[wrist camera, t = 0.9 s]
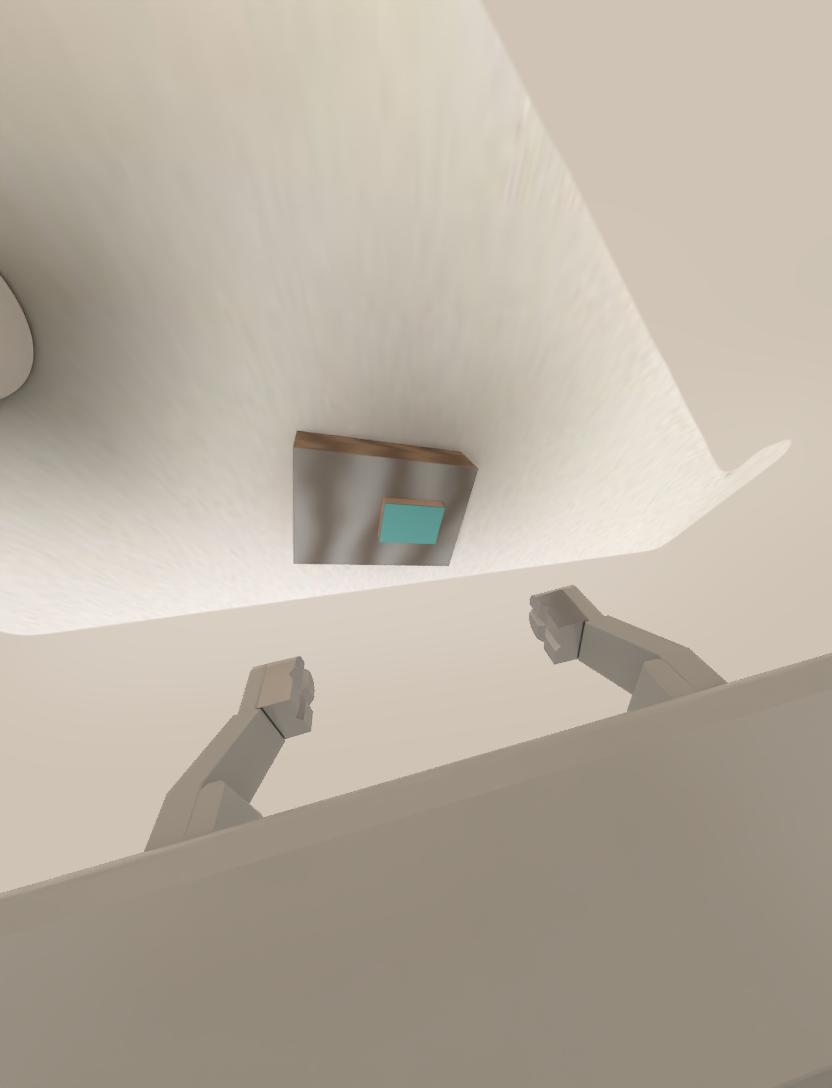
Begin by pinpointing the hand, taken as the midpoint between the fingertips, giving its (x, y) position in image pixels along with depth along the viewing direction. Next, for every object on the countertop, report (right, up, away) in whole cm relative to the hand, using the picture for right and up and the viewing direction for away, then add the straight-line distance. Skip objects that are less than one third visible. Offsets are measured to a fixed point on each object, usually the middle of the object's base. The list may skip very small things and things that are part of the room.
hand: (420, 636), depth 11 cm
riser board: (-5, +10, +32) cm, 34 cm away
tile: (-1, +6, +28) cm, 28 cm away
